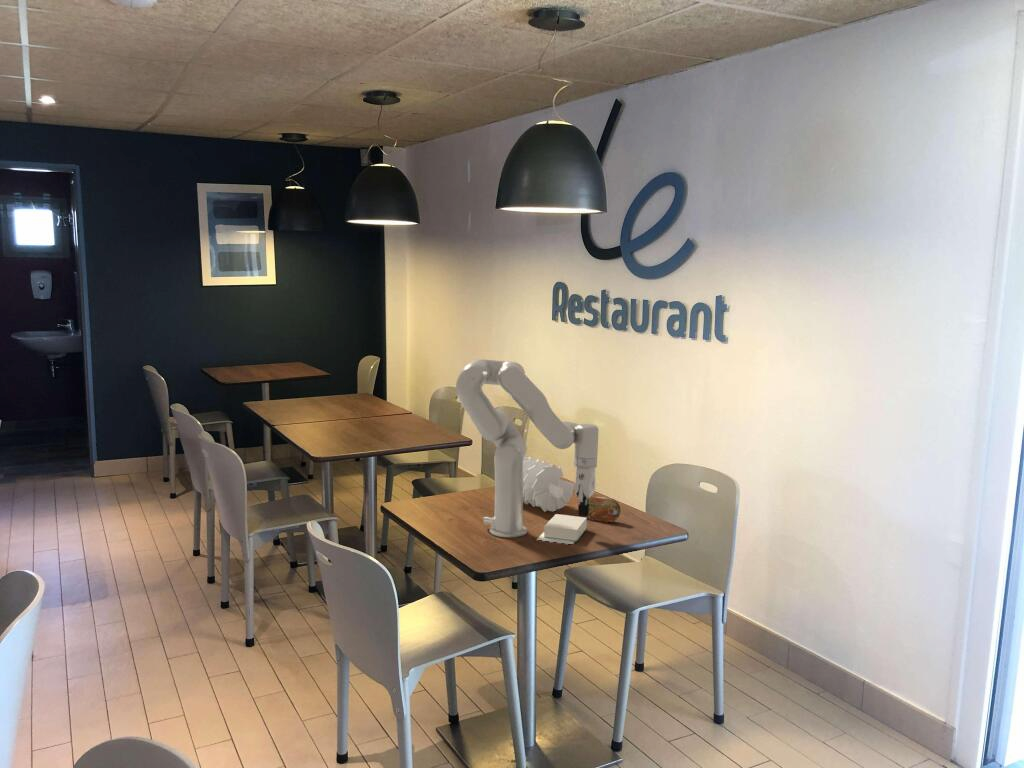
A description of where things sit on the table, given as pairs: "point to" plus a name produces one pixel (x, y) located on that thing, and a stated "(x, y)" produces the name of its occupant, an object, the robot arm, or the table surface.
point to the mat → (554, 540)
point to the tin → (603, 509)
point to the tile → (565, 527)
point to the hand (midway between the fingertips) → (583, 515)
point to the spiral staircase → (545, 485)
